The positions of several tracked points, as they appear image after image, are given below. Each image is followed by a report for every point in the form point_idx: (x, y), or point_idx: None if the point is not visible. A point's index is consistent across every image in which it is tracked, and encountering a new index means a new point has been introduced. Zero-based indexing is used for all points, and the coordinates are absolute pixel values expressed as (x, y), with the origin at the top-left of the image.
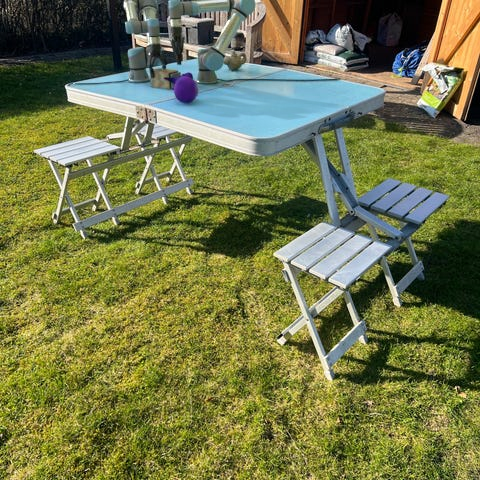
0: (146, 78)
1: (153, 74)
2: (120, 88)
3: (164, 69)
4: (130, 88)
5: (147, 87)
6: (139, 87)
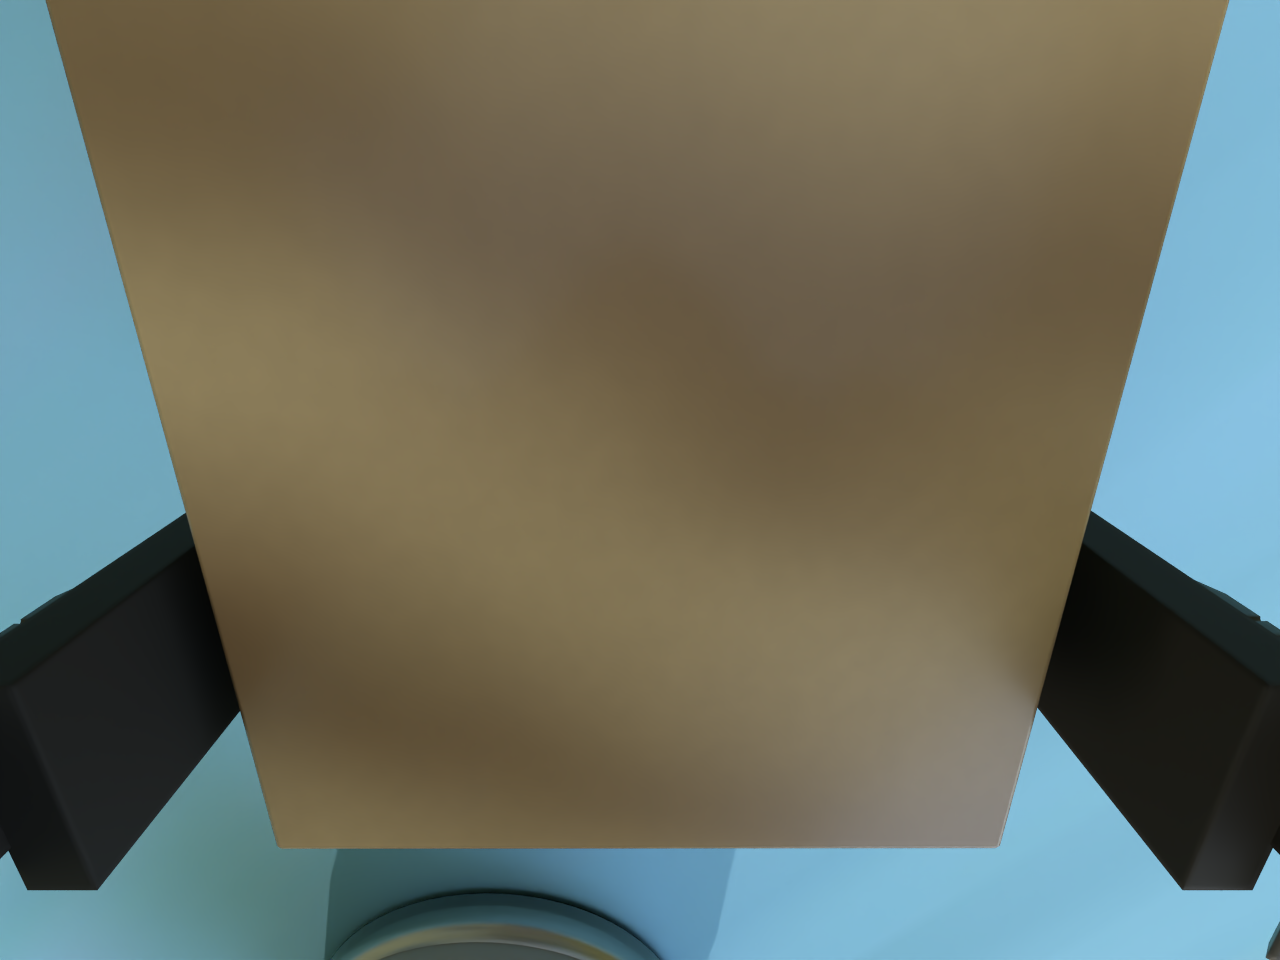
0: (463, 957)
1: None
2: (1154, 895)
3: (374, 399)
4: None
5: None
6: None
